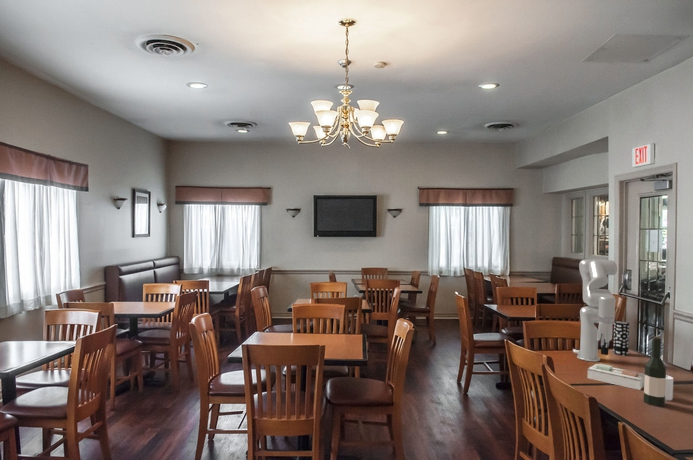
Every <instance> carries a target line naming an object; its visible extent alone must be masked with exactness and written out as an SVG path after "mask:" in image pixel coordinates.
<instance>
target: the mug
mask: <svg viewBox="0 0 693 460" xmlns="http://www.w3.org/2000/svg"><path fill="white" fill-rule="evenodd" d="M673 398H674V377H673V376H670V375H667V374H666V389H665V401H673Z"/></svg>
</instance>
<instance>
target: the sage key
mask: <svg viewBox="0 0 693 460" xmlns="http://www.w3.org/2000/svg"><path fill="white" fill-rule="evenodd" d="M597 364H598V365H597V366H596V369H600V370H605V371H609V372H611V370H612V367H613V365H609V364H604V363H597Z"/></svg>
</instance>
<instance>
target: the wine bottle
mask: <svg viewBox="0 0 693 460" xmlns="http://www.w3.org/2000/svg"><path fill="white" fill-rule="evenodd" d="M651 340H652V341H651V342H652V343H651V357H650V358H649V359H648V361H647V362H646V363H645V365H644V374H645V380H644V387H643V403H645V404H647V405H650V406H655V407H665V406H666V405H665V404H666V400H665V389H666V375H667V366H666V365H665V363H664V361H663V360H662V358H661V354H662V353H661V352H662V351H661V350H662V349H661V348H662V339H661V337H660V336H657V335H656V336H655V335H654V336H653V337H652V339H651Z"/></svg>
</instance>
